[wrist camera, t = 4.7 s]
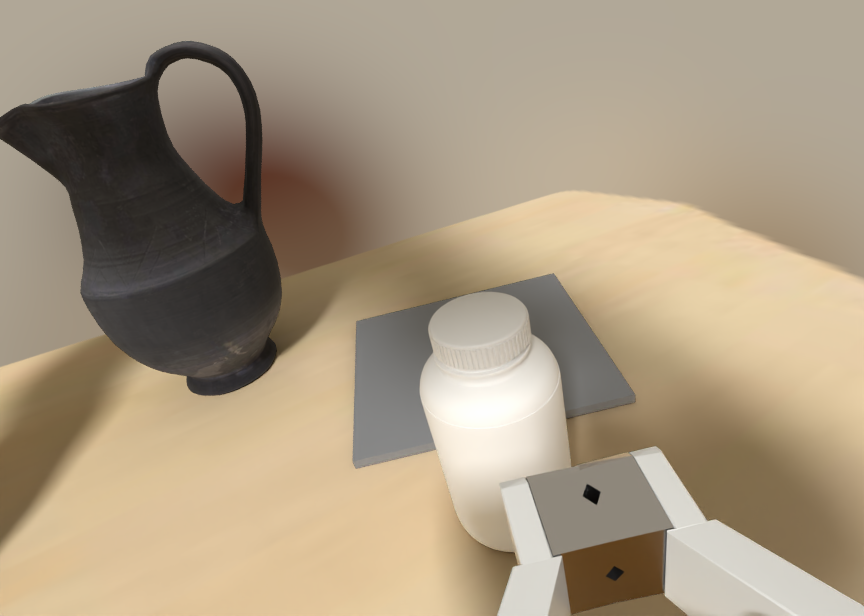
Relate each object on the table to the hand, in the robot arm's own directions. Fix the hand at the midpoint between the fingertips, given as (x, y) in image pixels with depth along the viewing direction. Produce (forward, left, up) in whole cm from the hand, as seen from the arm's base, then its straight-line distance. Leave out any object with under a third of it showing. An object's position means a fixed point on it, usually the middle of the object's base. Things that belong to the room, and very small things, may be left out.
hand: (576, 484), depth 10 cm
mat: (0, +32, -22) cm, 39 cm away
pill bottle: (0, +16, -22) cm, 27 cm away
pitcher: (-23, +41, -22) cm, 52 cm away
